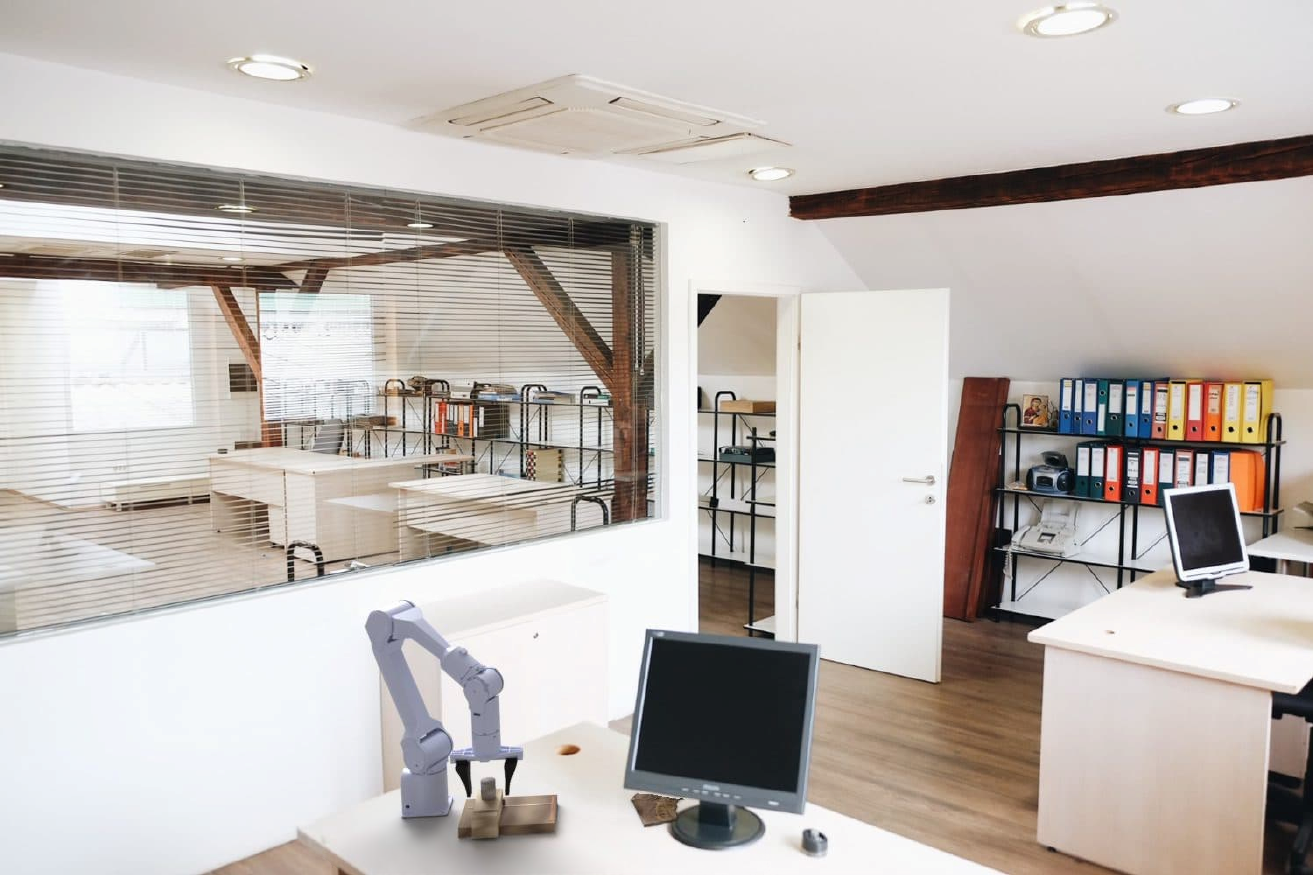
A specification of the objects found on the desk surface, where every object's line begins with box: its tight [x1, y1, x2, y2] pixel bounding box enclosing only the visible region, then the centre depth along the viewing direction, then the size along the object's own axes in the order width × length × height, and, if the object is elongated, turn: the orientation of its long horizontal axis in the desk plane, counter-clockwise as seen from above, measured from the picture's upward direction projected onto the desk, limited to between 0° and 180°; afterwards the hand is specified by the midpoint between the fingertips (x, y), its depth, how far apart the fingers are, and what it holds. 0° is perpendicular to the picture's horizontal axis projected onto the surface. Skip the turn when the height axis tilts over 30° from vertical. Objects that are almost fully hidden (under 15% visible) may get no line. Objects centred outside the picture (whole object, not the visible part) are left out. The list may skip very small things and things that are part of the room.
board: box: [457, 794, 558, 839], centre depth 194 cm, size 19×12×2 cm, turn 93°
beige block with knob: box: [471, 776, 506, 840], centre depth 191 cm, size 6×12×8 cm, turn 3°
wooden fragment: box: [630, 792, 681, 828], centre depth 203 cm, size 26×11×1 cm, turn 169°
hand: (488, 794), depth 193 cm, fingers open, 7 cm apart
